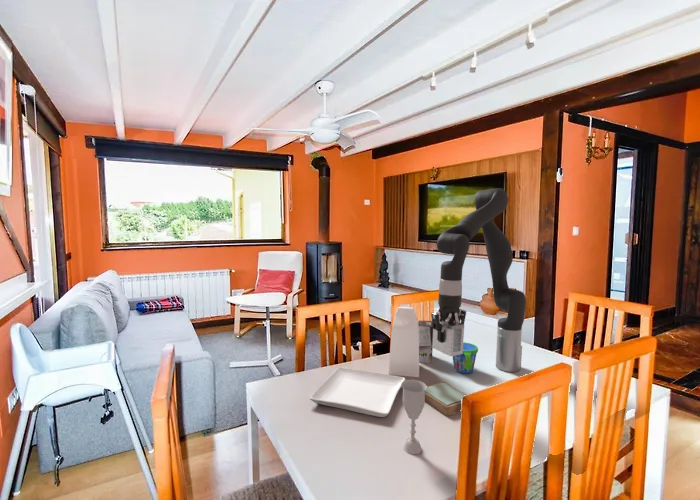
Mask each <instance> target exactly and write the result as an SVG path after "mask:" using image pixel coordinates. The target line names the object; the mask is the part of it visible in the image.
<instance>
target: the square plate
mask: <svg viewBox="0 0 700 500" xmlns="http://www.w3.org/2000/svg"><path fill="white" fill-rule="evenodd" d="M403 381H406V378H405V376H399V375H389V373H381V372H377V371H370V370H369V371H368V370H363V369H357V368H350V367H349V368H348V367H343V366H339V367H337V368H336V369H335V370H334V371H333V372H332V373H331V375H329V376H328V377H327V379H326V380H324V382H323V383H322V384H321V385H320V386H319V387H318V388H317V389H316V390H315V391H313V393H312V394H311V395H310V396H309V400H311V401H312V403H313V402H314V403H315V404H319V405H322V406H327V407H331V408H338V409H341V410H347V411H351V412H356V413H360V414H364V415H367V416H374V417H379V418H385V417H386V416H388V415H390V412H391V410H392V408H393V404H394V402H395V400H396V398H397V396H398V393H399V392H400V390H401V388H402V386H401V384H402V382H403Z"/></svg>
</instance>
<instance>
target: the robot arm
mask: <svg viewBox="0 0 700 500" xmlns="http://www.w3.org/2000/svg"><path fill="white" fill-rule="evenodd" d="M508 204H509V196H508V193H507V191H506V190H505V189H504V188H500V187H498V188H497V187H495V188H490V189H489V188H488V189H482V190H478V191H477V192H476V193H475V195H474V206H475V209H474V211H472V212H470V213H468V214H467V215H465V216H464V217H463V218H462V219H461V220H460V221H458V223H457V224H456V225H455V226H451V228H449V229H446V230H445V231H443V232H442V233H441V234H440V235H439V236H438V238H437V240H436V248H437V250H438V251H439V252H440V253H442V254H444V255H453V258H452V259H451V260H446V261H443V262H442V263H441V265H440V279H439V284H438V301H437V302H438V304H437V305H438V306H439V309H438V310H437V311H436V312H431V315H430V316H431V321H432V326H433V329H435V330H437V331H438V334H437V340H438V341H439V342H441V343H443V342H444V330H445V326H446V324H448V323H449V322H454V321H455V322H456V323H457V322H459V323H462V324H464V325H465V321H466V316H467V310H466V309H463V308H461V307H462V298H463V297H462V295H463V284H462V283H463V281H462V280H463V268H464V265H465V261H466V258H467V255H468V252H469V249H470V241H471V240H472V239H473V238H474V237H475V236H476V235H477V234H478V232H479V231H480V230H482V235H483V239H484V243H485V248H486V251H485V252H486V254H487V260H488V263H489V268H490V275H491V279H492V280H491V281H492V291H493V293H492V294H493V300H494V301H493V302H494V304H495V306H496V307H497V308H498V309H500V310H503V311H505V312H507V315H506V317H501V318H499V319H498V320H497V329H496V330H497V331H496V334H497V335H496V353H495V354H496V355H495V356H496V357H495V367H496V368H497V369H498V370H500V371H503V372H507V373H516V372H520V370H521V368H522V357H523V356H522V355H523V346H522V333H523V332H522V330H523V325H524V321H525V316H526V315H525V314H526V304H527V298H526V295H525V293H524V292H523V291H521V290H518V289H514V288H510V287H509V283H508V273H509V270H510V269H511V266H512V263H513V261H514V258H513V251H512V245H511V242H510V240H509V238H507V237H508V236H506V235H505V234H504V233H503V232H502V230H500V228H499V227H498V226H497V223H495V222H494V221H495V220H494V219H495V218H496V217H497V216H498V215H500V214H502V212H504V211H505V210H506V209H507V207H508ZM442 321H444V323H443V322H442ZM441 324H442V327H441Z"/></svg>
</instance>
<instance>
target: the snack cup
mask: <svg viewBox="0 0 700 500" xmlns="http://www.w3.org/2000/svg"><path fill="white" fill-rule="evenodd" d="M478 352H479V347H478V345H475V344H473V343H470V342H464V341H463V354H460V355H455V356H452V364H453V369H454V371H456V372H458V373H461V374H470V373H472V372H474V370H475V369H474V368H475V363H476V358H477V353H478Z"/></svg>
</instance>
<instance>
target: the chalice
mask: <svg viewBox="0 0 700 500" xmlns="http://www.w3.org/2000/svg"><path fill="white" fill-rule="evenodd" d="M401 386H402V387H401V388H402V404H403V407H404V410H405V413H406V415H407V416H408V417H407V418H409V419H411V422H410V430H409V433H410V437H408V438H407V439H406V440H405V442H404V444H403V446H402V447H403V450H404V452H406V453H407V454H410V455H419V454H420V453H421V452H422V451H423V448H422V447H421V443H420V441H419V440H418V438H416V437H415V434H416V433H417V431H416V426H417V425H416V420H418V419H419V417H420V416H421V414H422V412H423V409H424V407H425V390H426V388H427V387H428V386H427V384H426V383H425V382H423V381H421V380H417V379H405V381H403V382H402V384H401Z"/></svg>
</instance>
